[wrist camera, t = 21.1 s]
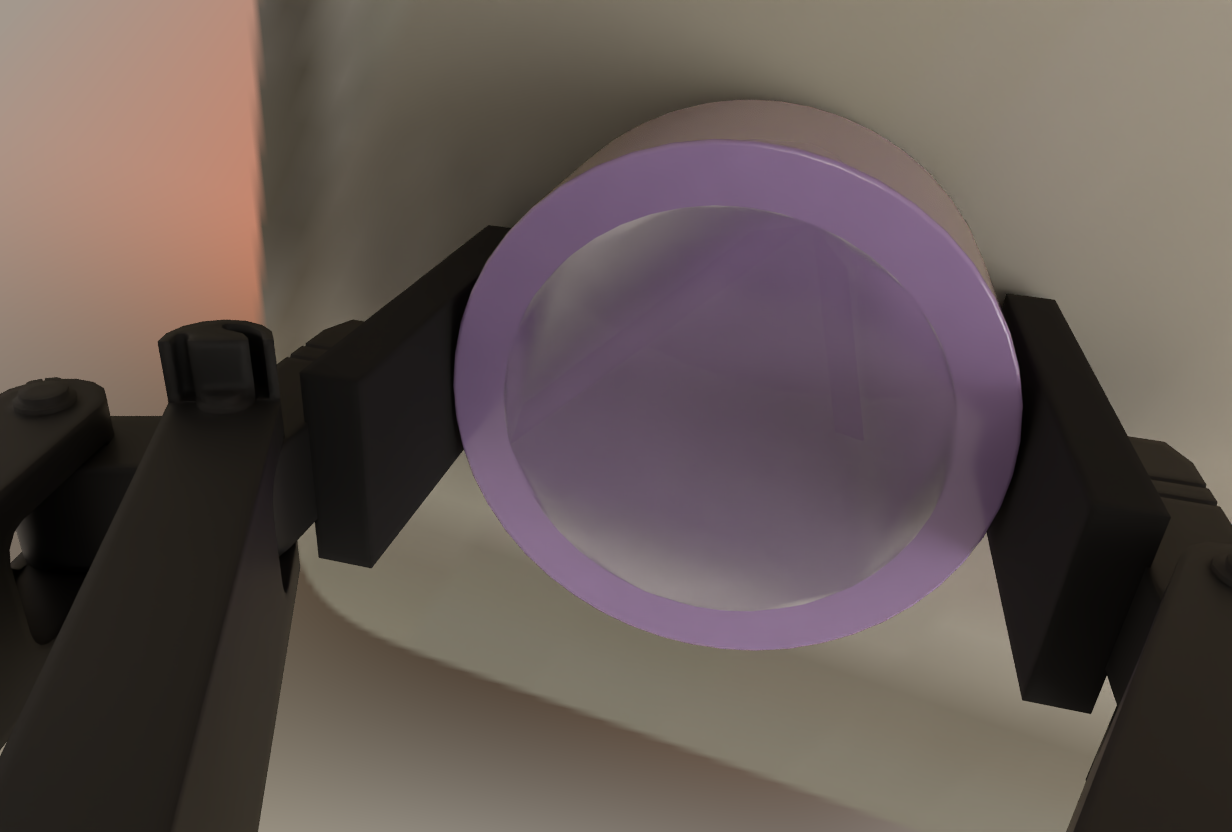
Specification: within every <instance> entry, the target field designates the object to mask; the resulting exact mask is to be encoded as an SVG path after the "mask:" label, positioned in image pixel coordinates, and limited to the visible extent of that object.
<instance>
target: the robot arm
mask: <svg viewBox="0 0 1232 832" xmlns="http://www.w3.org/2000/svg"><path fill="white" fill-rule="evenodd" d="M510 229H511V228H506V227H498V226H491V225H488V226H487V227H486V228H484V229H483V230H482V231H481V232H479V233H478V234H477V235H475V236H474V237H473V238H471V239H470V240H469V241H468V242H466V243H465V244H464V245H462V246H461V247H460V248H459V249H457V250H456V251H455V252H453V253H452V254H451V255H450V256H448V257H447V258H446V259H444V260H443V261H442V262H441V263H439V264H438V265H437V266H435V267H434V268H433V269H432V270H430V271H429V272H428V273H426V274H425V275H424V276H423V277H421V278H420V279H419V280H417V281H416V282H415V283H414V284H412V285H411V286H410V287H408V288H407V289H406V290H405V291H403V292H402V293H401V294H399V295H398V296H397V297H396V298H394V299H393V300H392V301H390V302H389V303H388V304H387V305H385V306H384V307H383V308H381V309H380V310H379V311H378V312H376V313H375V314H374V315H372V316H371V317H370V318H369V319H367V320H366V321H365V322H364V321H358V320H350V321H348V322H345V323H342V324H339V325H336V326H333V327H331V328H328V329H325V330H323V331H322V332H320V333H319V334H318V335H316V336H315V337H314V338H312V339H311V340H310V341H308V342H307V343H306V346H301V347H300V348H299V349H297V350H296V351H295V352H293V353H292V354H291V357H286V358H285V359H284V360H282V361H281V362H280V363H278V364H277V365H276V357H275V348H274V339H273V335H272V331H270V330H269V329H267V328H266V327H264V326H263V325H260V324H256V323H252V322H248V321H239V320H216V321H205V322H199V323H195V324H190V325H186V326H182V327H180V328H178V329H175V330H173V331H171V332H169V333H166V334H165V335H164V336H163V337H162V338H161V339H160V340H159V341H158V347H159V352H160V358H161V363H162V369H163V374H164V380H165V386H166V391H167V396H168V402H169V403H168V405H167V407H166V409H165V411H164V414H163V416H110V412H109V407H108V403H107V398H106V394H105V390H104V388H102V387H101V386H99V385H97V384H96V383H94V382H90V381H84V380H79V379H61V378H57V377H55V378H45V381H42V379H38V380H33V381H29V382H27V383H26V384H25V385H22V386H18V387H15V388H12V389H9V390H7V391H5V392H3V393H1V394H0V750H1V748H2V747H3V746H4V744H5V743H6V742H7V743H6V745H5V747H4V749H3V752H2V754H1V756H0V832H258V827H259V821H260V815H261V808H262V802H263V796H264V790H265V783H266V777H267V771H268V765H269V759H270V753H271V746H272V739H273V734H274V728H275V721H276V714H277V709H278V703H279V696H280V690H281V684H282V678H283V671H284V665H285V659H286V653H287V647H288V640H289V634H290V628H291V621H292V615H293V608H294V603H295V597H296V591H297V584H298V578H299V572H300V561H299V553H298V544H297V540H298V539H299V538H300V537H301V536H302V535H303V534H304V532H305V531H306V530H307V529H308V528H309V527H310V526H311V525H312V524H313V523H314V522H315V527H316V536H317V546H318V555H319V558H323V559H328V560H333V561H338V562H343V563H348V564H353V565H358V566H363V567H368V568H372V567H373V566H374V564H375V563H376V562H377V561H378V559H379V558H380V557H381V555H382V554H383V553H384V552H385V550H386V549H387V548H388V546H389V545H390V544H391V543H392V541H393V540H394V539H395V537H396V536H397V535H398V533H399V532H400V531H401V530H402V528H403V527H404V526H405V524H406V523H407V522H408V521H409V519H410V518H411V517H412V515H413V514H414V513H415V512H416V510H417V509H418V508H419V506H420V505H421V504H422V502H423V501H424V500H425V499H426V497H427V496H428V495H429V493H430V492H431V491H432V490H433V488H434V487H435V486H436V484H437V483H438V482H439V481H440V479H441V478H442V477H443V475H444V474H445V473H446V472H447V470H448V469H449V468H450V466H451V465H452V464H453V462H454V461H455V460H456V459H457V457H458V456H459V455H460V453H461V452H462V451H463V450H464V448H463V445H462V440H461V436H460V431H459V427H458V423H457V418H456V409H455V398H454V387H453V381H454V359H455V349H456V344H457V339H458V333H459V328H460V323H461V319H462V316H463V313H464V311H465V308H466V305H467V302H468V299H469V296H470V293H471V290H472V288H473V287H474V285H475V283H476V281H477V279H478V277H479V275H480V273H481V271H482V269H483V267H484V265H485V263H486V261H487V260H488V258H489V257H490V256H491V254H492V253H493V252H494V250H495V249H496V247H497V246H498V245H499V243H500V242H501V241H502V239H503V238H504V236H505V235H506V234H507V232H508V231H509V230H510ZM1002 311H1003V314H1004V317H1005V319H1006V322H1007V325H1008V327H1009V330H1010V333H1011V337H1012V341H1013V345H1014V348H1015V352H1016V356H1017V360H1018V364H1019V368H1020V376H1021V387H1022V397H1023V418H1022V434H1021V443H1020V448H1019V452H1018V457H1017V461H1016V466H1015V470H1014V475H1013V477H1012V480H1011V483H1010V485H1009V488H1008V490H1007V493H1006V495H1005V498H1004V500H1003V503H1002V505H1001V508H1000V509H999V511H998V513H997V515H996V516H995V518H994V520H993V521H992V523H991V525H990V527H989V528H988V530H987V536H988V541H989V546H990V550H991V555H992V560H993V565H994V569H995V574H996V579H997V583H998V588H999V593H1000V597H1001V602H1002V607H1003V612H1004V616H1005V621H1006V626H1007V630H1008V635H1009V640H1010V645H1011V649H1012V654H1013V659H1014V663H1015V668H1016V673H1017V678H1018V682H1019V687H1020V692H1021V696H1022V700H1024V701H1029V702H1034V703H1039V704H1044V705H1049V706H1054V707H1059V708H1064V709H1069V710H1074V711H1079V712H1084V713H1089V714H1091V713H1092V710H1093V708H1094V705H1095V703H1096V701H1097V698H1098V696H1099V693H1100V691H1101V688H1102V686H1103V683H1104V681H1105V678H1106V676H1108V679H1109V682H1110V685H1111V688H1112V691H1113V694H1114V697H1115V700H1116V703H1117V706H1116V709H1115V711H1114V714H1113V716H1112V718H1111V721H1110V723H1109V725H1108V728H1107V730H1106V733H1105V735H1104V737H1103V740H1102V742H1101V744H1100V747H1099V749H1098V751H1097V754H1096V756H1095V759H1094V761H1093V763H1092V766H1091V768H1090V770H1089V773H1088V775H1087V778H1086V783H1085V786H1084V788H1083V791H1082V793H1081V796H1080V798H1079V801H1078V803H1077V806H1076V808H1075V811H1074V813H1073V816H1072V819H1071V821H1070V824H1069V826H1068V829H1067V831H1066V832H1232V525H1231V523H1230V521H1229V520H1228V518H1227V517H1226V515H1225V513H1224V512H1223V510H1222V509H1221V507H1219V506H1217V501H1216V499H1215V498H1214V496H1213V494H1212V493H1211V491H1210V490H1209V489H1207V488H1206V483H1205V482H1204V480H1203V479H1202V477H1201V475H1200V474H1199V472H1198V471H1197V469H1196V467H1195V466H1194V464H1193V463H1192V462H1191V461H1189V460H1188V459H1187V458H1185V457H1184V456H1183V455H1181V454H1180V453H1179V452H1177V451H1176V450H1175V449H1173V448H1172V447H1171V446H1169V445H1168V444H1167V443H1165V442H1161V441H1155V440H1148V439H1142V438H1135V437H1129V436H1127V434H1126V432H1125V430H1124V428H1123V426H1122V425H1121V423H1120V421H1119V419H1118V417H1117V415H1116V413H1115V411H1114V410H1113V408H1112V406H1111V404H1110V402H1109V400H1108V398H1107V396H1106V395H1105V393H1104V391H1103V389H1102V387H1101V385H1100V383H1099V382H1098V380H1097V378H1096V376H1095V374H1094V372H1093V370H1092V368H1091V367H1090V365H1089V363H1088V361H1087V359H1086V357H1085V355H1084V353H1083V352H1082V350H1081V348H1080V346H1079V344H1078V342H1077V340H1076V338H1075V337H1074V335H1073V333H1072V331H1071V329H1070V327H1069V325H1068V323H1067V322H1066V320H1065V318H1064V316H1063V314H1062V312H1061V310H1060V309H1059V307H1058V305H1057V303H1056V301H1055V300H1052V299H1044V298H1037V297H1029V296H1021V295H1014V294H1006V296H1005V300H1004V303H1003V307H1002ZM15 531H16V532H17V535H18V539H19V542H20V546H21V549H22V552H21V553H20V554H19V555H18V556H17V557H16V558H15V559H14V560H13V561H12V562H11V563H10V551H9V550H10V546H11V542H12V539H13V535H14V532H15Z"/></svg>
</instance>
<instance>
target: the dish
mask: <svg viewBox="0 0 1232 832" xmlns="http://www.w3.org/2000/svg"><path fill="white" fill-rule="evenodd" d="M453 387H454V398H455V409H456V418H457V423H458V427H459V431H460V436H461V440H462V445H463V448H464V451H465V454H466V456H467V459H468V462H469V465H470V467H471V470H472V473H473V476H474V478H475V480H476V482H477V484H478V486H479V488H480V489H481V491H482V493H483V495H484V497H485V499H486V501H487V503H488V505H489V506H490V508H491V509H492V511H493V512H494V514H495V515H496V517H497V518H498V520H499V521H500V523H501V524H502V526H503V527H504V529H505V530H506V531H507V532H508V534H509V535H510V536H511V537H512V538H513V540H514V541H515V542H516V543H517V544H518V545H519V547H520V548H521V549H522V550H523V551H524V553H525V554H526V555H527V556H528V557H530V558H531V559H532V560H533V561H534V562H535V563H536V564H537V565H538V566H539V567H540V568H541V569H542V570H543V571H544V572H545V573H546V574H547V575H549V576H550V577H551V578H552V579H554V580H555V581H556V582H558V583H559V584H560V585H562V586H563V587H564V588H566V589H567V590H568V591H569V592H571V593H572V594H573V595H575V596H577V597H578V598H580V599H582V600H583V601H585V602H586V603H588V604H590V605H591V606H593V607H595V608H596V609H598V610H599V611H601V612H603V613H605V614H607V615H610V616H612V617H614V618H616V619H618V620H620V621H622V622H624V623H626V624H628V625H631V626H633V627H636V628H639V629H642V630H644V631H647V632H650V633H653V634H655V635H658V636H661V637H665V638H669V639H673V640H677V641H681V642H685V643H689V644H694V645H700V646H707V647H714V648H720V649H735V650H773V649H789V648H796V647H802V646H808V645H814V644H820V643H824V642H828V641H831V640H835V639H838V638H842V637H845V636H849V635H853V634H855V633H857V632H860V631H862V630H865V629H867V628H870V627H872V626H875V625H877V624H880V623H882V622H884V621H886V620H888V619H890V618H891V617H893V616H895V615H897V614H899V613H900V612H902V611H904V610H906V609H908V608H909V607H911V606H913V605H914V604H915V603H917V602H918V601H920V600H921V599H922V598H924V597H925V596H926V595H928V594H929V593H930V592H932V591H933V590H935V589H936V588H937V587H939V586H940V585H941V584H942V583H943V582H944V581H945V580H946V579H947V578H948V577H949V576H950V575H951V574H952V573H953V572H954V571H955V570H956V569H957V568H958V567H959V566H961V565H962V564H963V562H964V561H965V560H966V559H967V557H968V556H969V555H970V553H971V552H972V551H973V550H974V548H975V547H976V546H977V545H978V543H979V542H980V541H981V540H982V538H983V537H984V535H985V534H986V532H987V530H988V528H989V527H990V525H991V523H992V521H993V520H994V518H995V516H996V515H997V513H998V511H999V509H1000V508H1001V505H1002V503H1003V500H1004V498H1005V495H1006V493H1007V490H1008V488H1009V485H1010V483H1011V480H1012V477H1013V475H1014V470H1015V466H1016V461H1017V457H1018V452H1019V448H1020V443H1021V434H1022V418H1023V397H1022V387H1021V376H1020V368H1019V364H1018V360H1017V356H1016V352H1015V348H1014V345H1013V341H1012V337H1011V333H1010V330H1009V327H1008V325H1007V322H1006V319H1005V317H1004V314H1003V311H1002V309H1001V306H1000V303H999V301H998V298H997V295H996V293H995V290H994V287H993V285H992V282H991V279H990V277H989V274H988V271H987V269H986V266H985V263H984V261H983V258H982V256H981V253H980V251H979V249H978V246H977V244H976V242H975V239H974V237H973V235H972V232H971V230H970V228H969V226H968V225H967V223H966V222H965V220H964V218H963V217H962V215H961V213H960V212H959V210H958V209H957V207H956V205H955V204H954V202H953V201H952V199H951V198H950V197H949V196H948V195H947V193H946V192H945V191H944V190H943V189H942V187H941V186H940V185H939V184H938V183H937V182H936V180H935V179H934V178H933V177H932V176H931V174H930V173H928V172H927V171H926V170H925V169H924V168H923V167H922V166H920V165H919V164H918V163H917V162H916V161H915V160H914V159H913V158H911V157H910V156H909V155H908V154H907V153H906V152H905V151H903V150H902V149H900V148H899V147H897V146H896V145H894V144H893V143H891V142H890V141H888V140H887V139H885V138H883V137H882V136H880V135H879V134H877V133H876V132H874V131H872V130H870V129H868V128H866V127H863V126H861V125H859V124H857V123H855V122H853V121H851V120H849V119H847V118H844V117H842V116H839V115H835V114H832V113H829V112H826V111H823V110H819V109H816V108H813V107H810V106H804V105H798V104H792V103H786V102H781V101H771V100H741V99H740V100H731V101H721V102H712V103H704V104H700V105H696V106H692V107H688V108H684V109H680V110H676V111H672V112H670V113H667V114H665V115H662V116H660V117H657V118H655V119H652V120H650V121H647V122H645V123H642V124H640V125H639V126H637V127H635V128H633V129H632V130H630V131H628V132H626V133H624V134H623V135H621V136H619V137H617V138H616V139H614V140H613V141H611V142H610V143H609V144H607V145H606V146H605V147H604V148H602V149H601V150H600V151H598V152H597V153H596V154H594V155H593V156H592V157H591V158H589V159H588V160H587V161H586V162H585V163H583V164H582V165H581V166H580V167H579V168H577V169H576V170H575V171H574V172H573V173H572V174H570V175H569V176H568V177H567V178H566V179H565V180H563V181H562V182H561V183H560V184H559V185H558V186H556V187H555V188H554V189H553V190H552V191H551V192H549V193H548V194H547V195H546V196H545V197H543V198H542V199H541V200H540V201H539V202H538V203H536V204H535V205H534V206H533V207H532V208H531V209H530V210H529V211H528V212H527V213H526V214H525V215H524V216H523V217H522V218H521V219H520V220H519V221H518V222H517V223H516V224H515V225H514V226H513V227H512V228H511V229H510V230H509V231H508V232H507V234H506V235H505V236H504V238H503V239H502V241H501V242H500V243H499V245H498V246H497V247H496V249H495V250H494V252H493V253H492V254H491V256H490V257H489V258H488V260H487V261H486V263H485V265H484V267H483V269H482V271H481V273H480V275H479V277H478V279H477V281H476V283H475V285H474V287H473V288H472V290H471V293H470V296H469V299H468V302H467V305H466V308H465V311H464V313H463V316H462V319H461V323H460V328H459V333H458V339H457V344H456V349H455V359H454V381H453Z"/></svg>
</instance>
